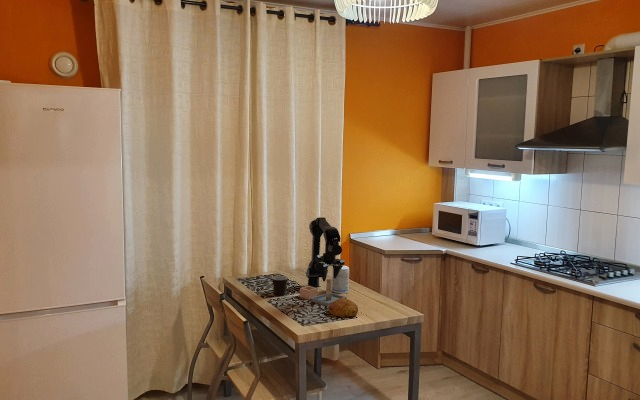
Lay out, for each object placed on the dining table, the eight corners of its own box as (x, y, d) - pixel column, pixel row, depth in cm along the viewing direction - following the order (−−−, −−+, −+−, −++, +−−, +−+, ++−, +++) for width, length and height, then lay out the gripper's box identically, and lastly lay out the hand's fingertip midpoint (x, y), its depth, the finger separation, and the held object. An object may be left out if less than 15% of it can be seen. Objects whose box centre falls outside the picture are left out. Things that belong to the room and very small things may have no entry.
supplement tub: (331, 289, 299) (332, 264, 298) (347, 289, 299) (348, 265, 297) (332, 294, 289) (332, 268, 288) (348, 294, 289) (349, 269, 288)
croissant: (347, 311, 268) (347, 295, 268) (362, 316, 254) (362, 300, 254) (322, 313, 261) (322, 297, 262) (337, 318, 247) (337, 302, 248)
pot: (307, 295, 286) (308, 285, 285) (317, 297, 281) (317, 288, 281) (299, 297, 280) (300, 288, 280) (308, 300, 276) (309, 290, 275)
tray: (329, 296, 285) (329, 292, 285) (346, 300, 278) (346, 296, 277) (310, 302, 273) (310, 298, 273) (327, 307, 265) (327, 303, 265)
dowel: (328, 298, 277) (329, 278, 276) (332, 299, 275) (333, 279, 274) (324, 299, 275) (325, 279, 274) (329, 300, 273) (329, 280, 272)
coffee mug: (284, 298, 279) (285, 280, 277) (269, 296, 280) (270, 279, 279) (290, 292, 290) (290, 275, 289) (275, 291, 292) (276, 274, 290)
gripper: (329, 247, 284) (328, 274, 286) (307, 251, 270) (306, 280, 272) (345, 250, 277) (344, 278, 279) (323, 254, 263) (322, 284, 265)
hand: (329, 279), depth 274 cm, fingers open, 9 cm apart
